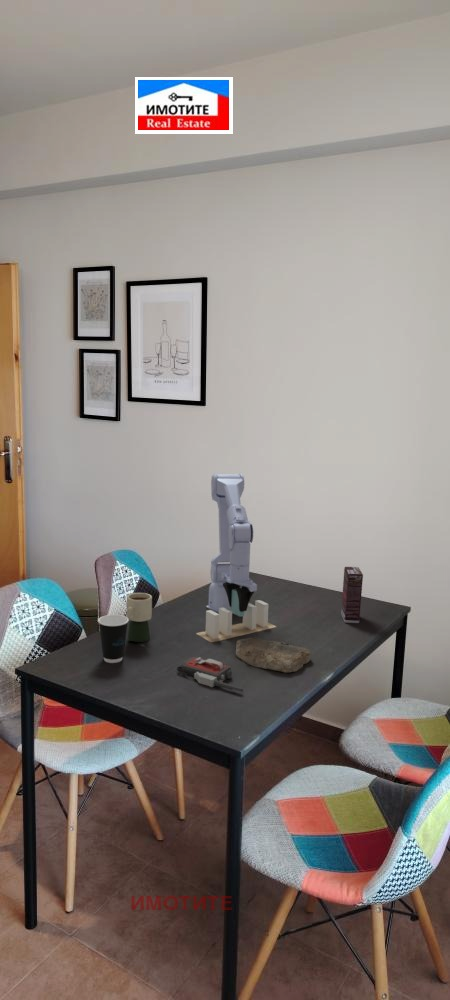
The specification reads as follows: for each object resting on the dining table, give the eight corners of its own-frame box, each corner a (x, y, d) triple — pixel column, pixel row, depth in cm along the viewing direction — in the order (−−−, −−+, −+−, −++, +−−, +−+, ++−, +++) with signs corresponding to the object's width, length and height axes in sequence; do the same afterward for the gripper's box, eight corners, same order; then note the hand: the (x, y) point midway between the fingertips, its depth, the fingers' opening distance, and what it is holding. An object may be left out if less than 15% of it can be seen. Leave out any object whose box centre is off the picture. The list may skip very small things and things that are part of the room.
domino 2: (226, 635, 203) (227, 612, 201) (218, 631, 206) (218, 608, 205) (231, 634, 203) (232, 611, 202) (222, 629, 207) (223, 607, 206)
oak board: (195, 635, 204) (195, 633, 204) (260, 620, 218) (260, 618, 217) (211, 644, 197) (211, 642, 197) (276, 628, 211) (276, 626, 211)
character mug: (138, 631, 205) (139, 589, 202) (159, 636, 202) (160, 593, 199) (117, 644, 195) (117, 599, 193) (138, 649, 192) (139, 604, 190)
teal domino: (239, 616, 204) (240, 593, 203) (231, 612, 208) (231, 589, 206) (244, 615, 205) (245, 592, 204) (235, 611, 209) (236, 588, 207)
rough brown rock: (223, 660, 188) (290, 678, 178) (223, 643, 187) (291, 659, 177) (249, 645, 200) (313, 660, 189) (249, 628, 199) (314, 643, 189)
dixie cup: (121, 667, 180) (122, 626, 178) (93, 663, 182) (93, 623, 180) (132, 655, 188) (133, 616, 186) (104, 651, 190) (105, 613, 188)
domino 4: (263, 627, 210) (264, 604, 209) (254, 622, 214) (255, 600, 213) (267, 626, 211) (268, 604, 210) (258, 621, 215) (259, 599, 213)
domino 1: (214, 638, 200) (214, 615, 199) (205, 633, 203) (206, 610, 202) (218, 637, 201) (219, 614, 200) (210, 632, 204) (210, 609, 203)
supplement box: (360, 623, 218) (363, 574, 215) (344, 623, 218) (347, 573, 215) (355, 614, 226) (358, 566, 224) (340, 613, 227) (343, 566, 224)
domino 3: (251, 630, 208) (252, 607, 206) (242, 625, 211) (243, 603, 210) (255, 629, 209) (256, 606, 207) (246, 624, 212) (247, 602, 211)
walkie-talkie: (171, 676, 177) (240, 697, 167) (171, 660, 176) (241, 680, 166) (190, 665, 184) (257, 684, 174) (191, 649, 183) (258, 667, 173)
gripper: (214, 559, 207) (212, 603, 210) (243, 571, 196) (241, 618, 198) (233, 556, 211) (231, 599, 214) (263, 568, 200) (261, 613, 202)
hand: (237, 608), depth 206 cm, fingers closed on teal domino, 4 cm apart
